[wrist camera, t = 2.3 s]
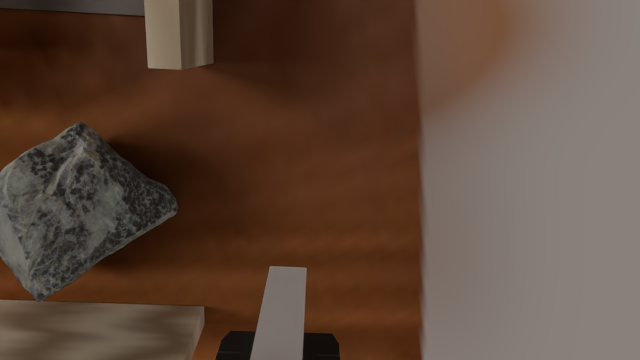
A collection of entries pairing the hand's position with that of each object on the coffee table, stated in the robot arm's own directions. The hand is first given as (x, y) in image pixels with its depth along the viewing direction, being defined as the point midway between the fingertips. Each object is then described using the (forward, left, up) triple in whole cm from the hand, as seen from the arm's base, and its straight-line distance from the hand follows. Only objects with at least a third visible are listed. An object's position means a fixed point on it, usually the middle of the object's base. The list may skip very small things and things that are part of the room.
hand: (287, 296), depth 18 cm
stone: (-12, 0, -12) cm, 17 cm away
